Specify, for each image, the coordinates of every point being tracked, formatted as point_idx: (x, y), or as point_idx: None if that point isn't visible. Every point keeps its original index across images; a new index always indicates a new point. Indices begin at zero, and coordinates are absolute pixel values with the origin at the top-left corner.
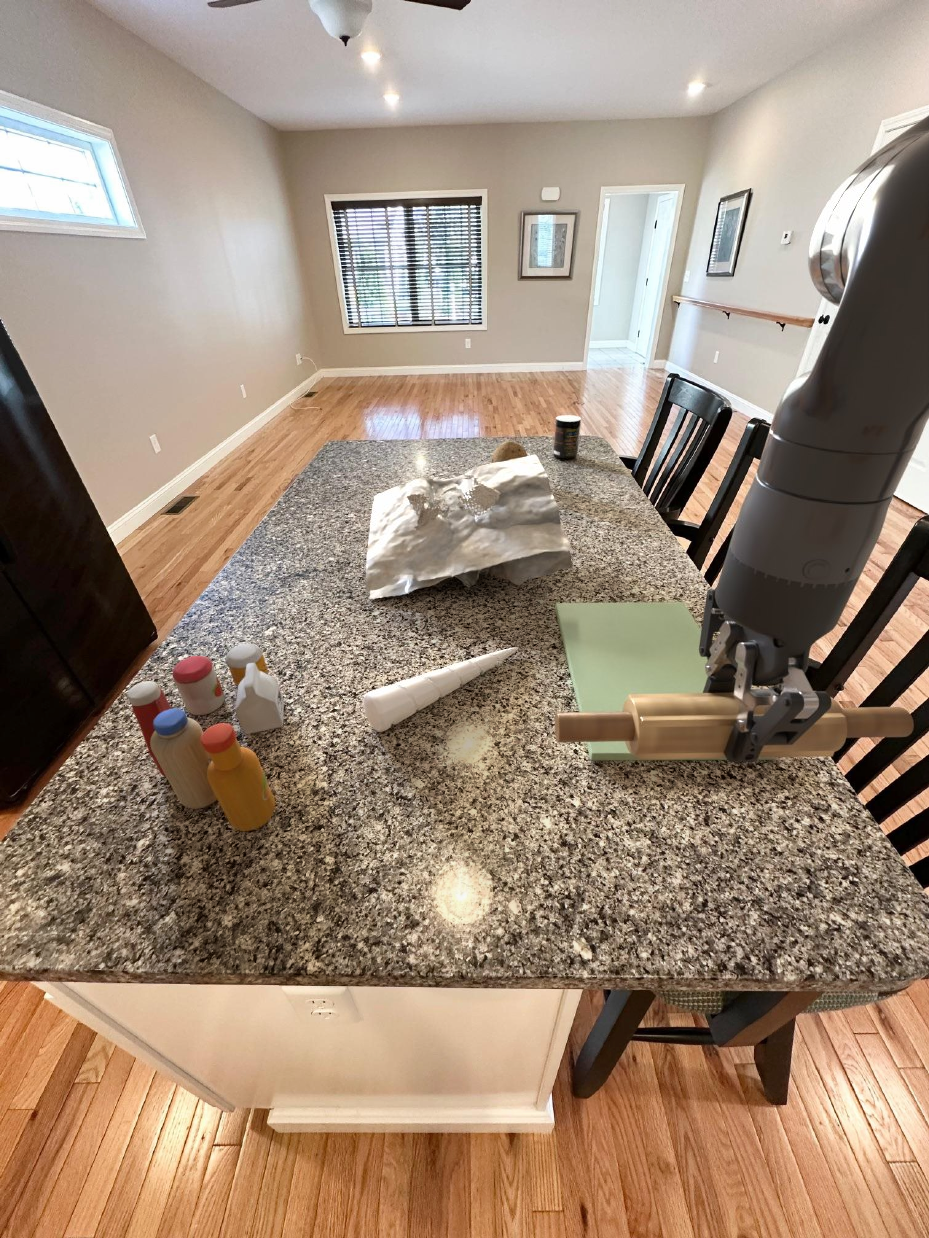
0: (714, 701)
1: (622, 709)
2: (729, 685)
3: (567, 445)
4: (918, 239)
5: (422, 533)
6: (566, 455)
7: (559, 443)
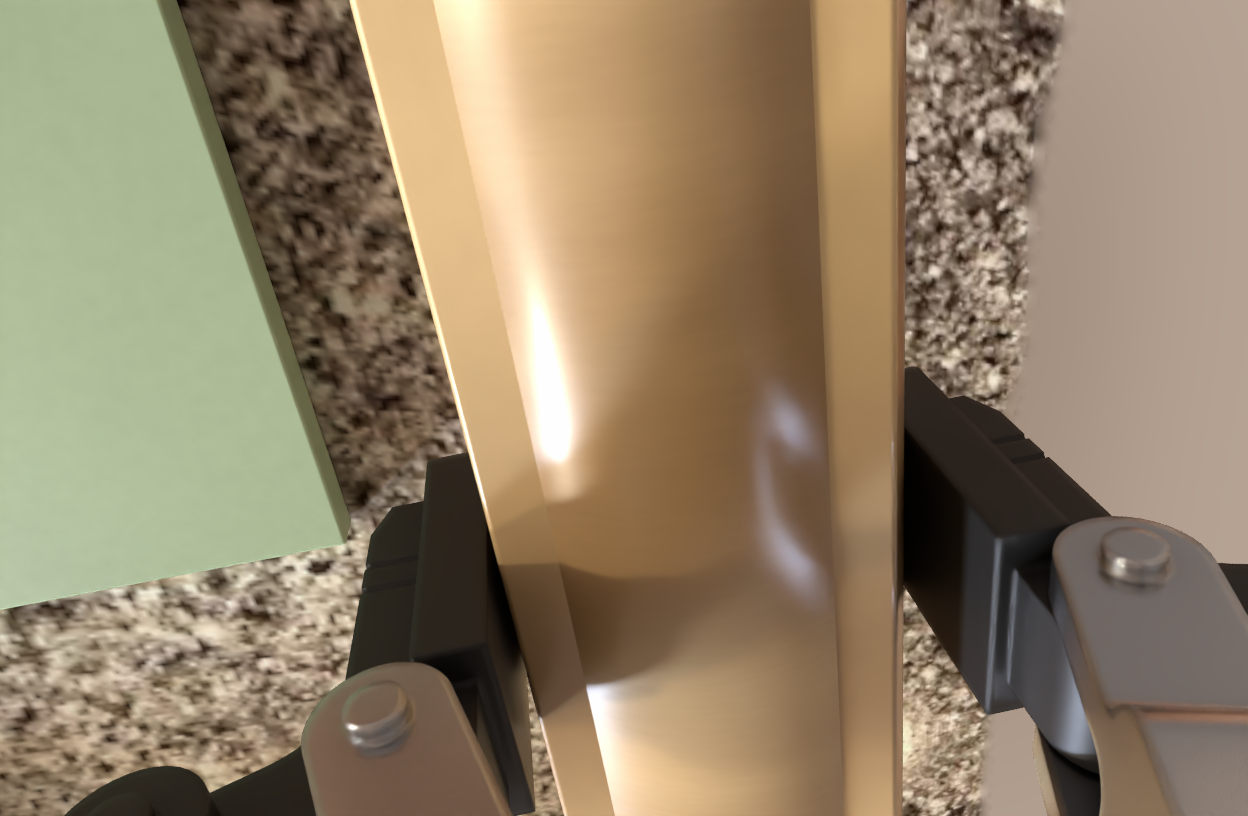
0: (725, 773)
1: (22, 437)
2: (500, 661)
3: None
4: None
5: None
6: None
7: None
